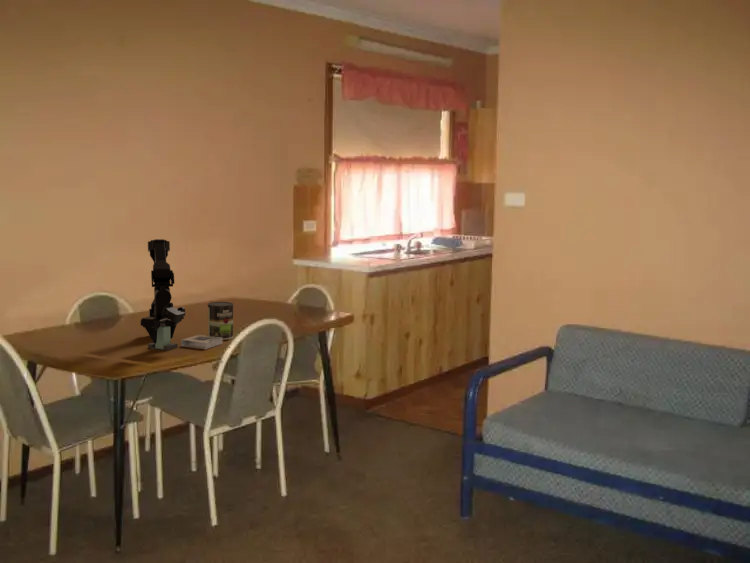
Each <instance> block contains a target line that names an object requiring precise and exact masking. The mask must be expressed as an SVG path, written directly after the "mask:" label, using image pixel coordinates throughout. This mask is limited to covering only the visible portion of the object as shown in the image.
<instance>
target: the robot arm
mask: <svg viewBox="0 0 750 563" xmlns="http://www.w3.org/2000/svg"><path fill="white" fill-rule="evenodd" d="M170 242H171V241H168V240H166V239H162V238H161V239H150V241H147V252H149V256H150V258H151V260H152V261H153V264H152V270H151V272H150V276H151V277H150V278H151V287H152V288H154V289H153V292H154V293H153V294H154V296H153V297H154V298H153V300H152V302H151V304H150V308H148V311H149V312H148V316H146V317H142V318H141V319H140V326H142V328H144V329H145V330H146V332H147V334H148V335H149V337H150V339H151V341H152V343H155V344H156V342H157V330H158V329H159V327H160V323H165V326H169V327H170V337H171V340H172V339H173V337H174V333H175V331H176V328H177V325H178V324H179V323H181V322H182V320H184V319H185V318H184V317H186V308H185V307H183V306H180V307H174V303H173V302H171V300H172V294H171V288H170V287H174V285H175V273H174V271H173V269H171V264H169V263H168V262H167V258H168V256H169V252H170V250H171V246H170V245H171V244H170Z"/></svg>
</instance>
